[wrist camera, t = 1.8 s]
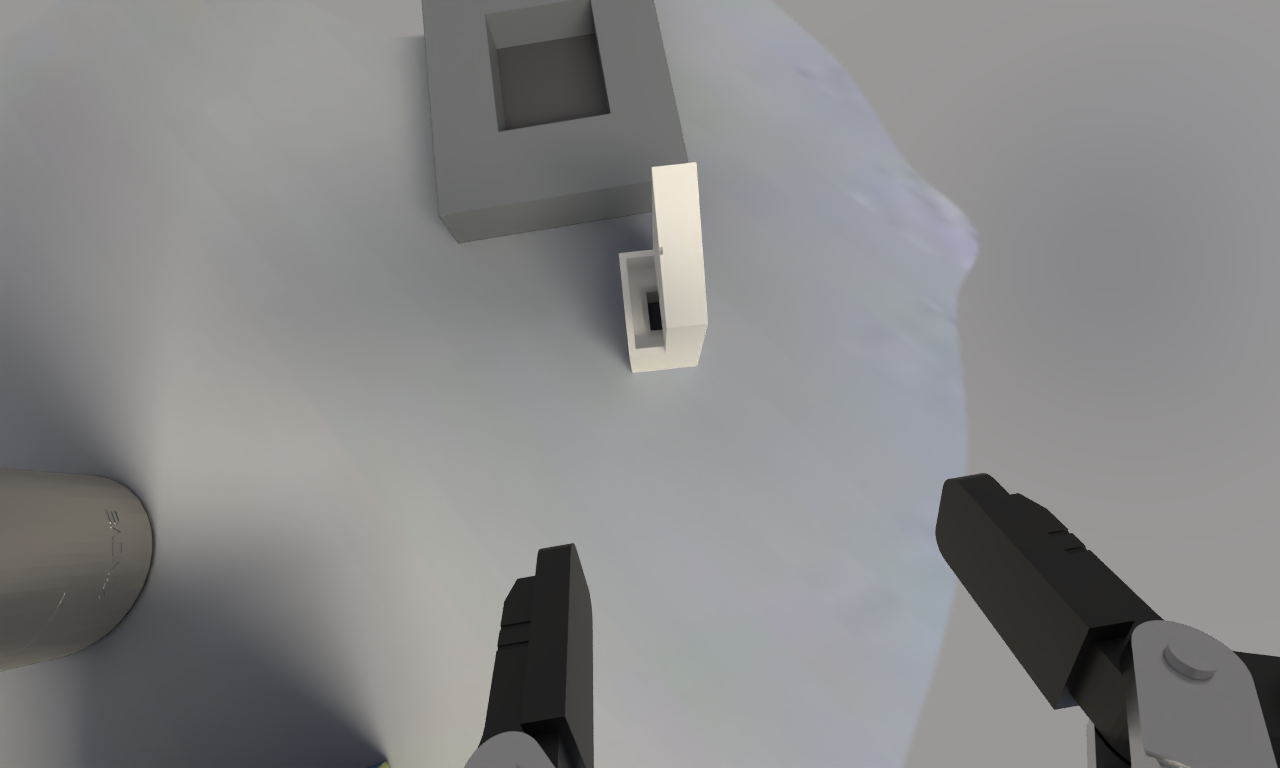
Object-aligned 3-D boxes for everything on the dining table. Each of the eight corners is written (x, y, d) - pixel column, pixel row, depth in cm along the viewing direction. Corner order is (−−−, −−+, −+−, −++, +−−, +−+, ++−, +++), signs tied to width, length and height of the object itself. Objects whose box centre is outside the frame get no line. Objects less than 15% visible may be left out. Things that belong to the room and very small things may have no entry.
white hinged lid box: (676, 181, 30) (696, 162, 22) (691, 354, 33) (713, 396, 25) (612, 188, 30) (606, 172, 22) (631, 361, 33) (633, 405, 25)
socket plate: (458, 243, 33) (438, 216, 30) (437, 8, 37) (418, -36, 34) (688, 205, 33) (691, 174, 30) (639, -25, 37) (638, -71, 34)
